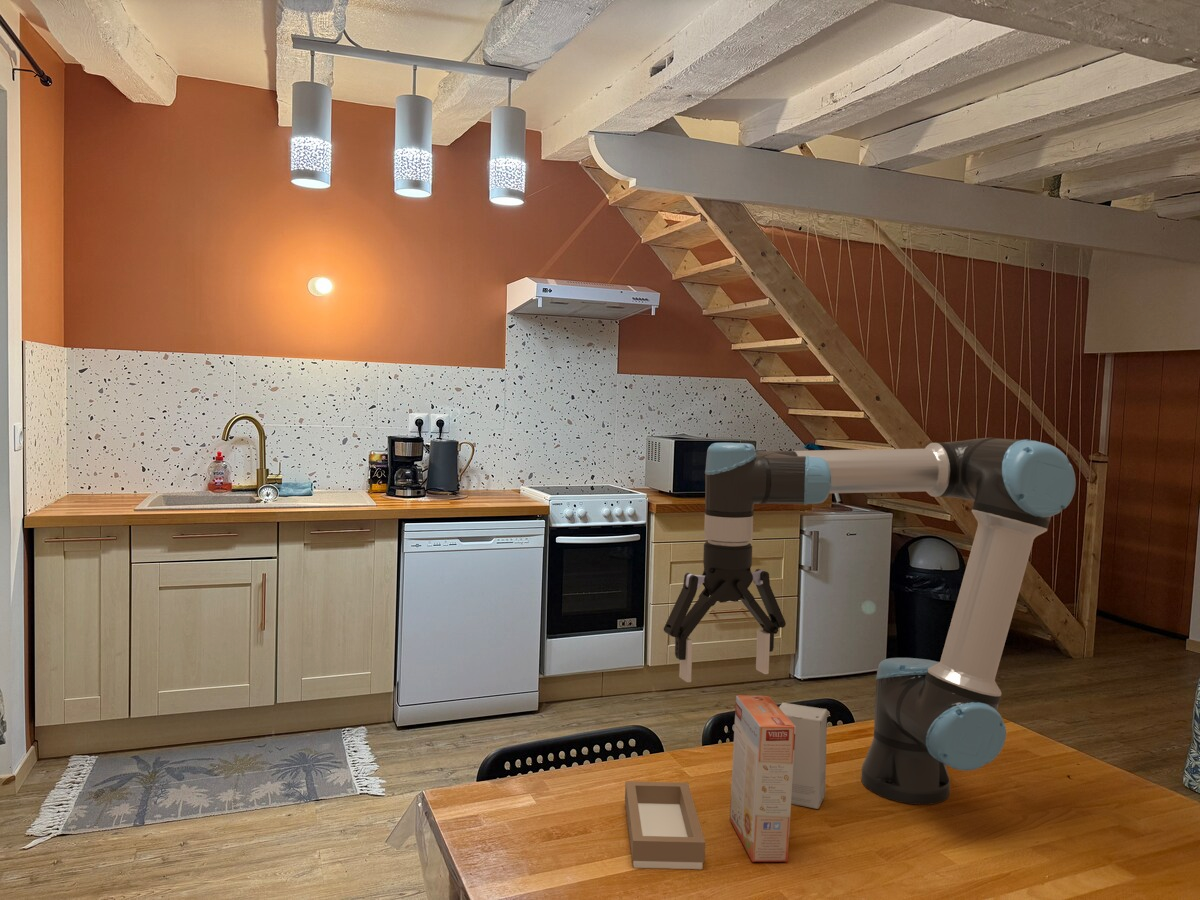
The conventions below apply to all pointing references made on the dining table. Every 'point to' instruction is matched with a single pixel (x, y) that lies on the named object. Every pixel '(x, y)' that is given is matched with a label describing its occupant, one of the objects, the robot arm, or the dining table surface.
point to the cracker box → (762, 778)
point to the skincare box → (808, 754)
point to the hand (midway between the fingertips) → (724, 675)
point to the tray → (663, 826)
